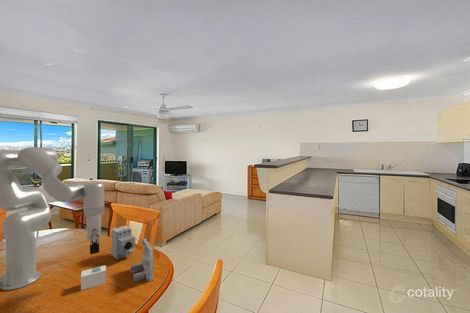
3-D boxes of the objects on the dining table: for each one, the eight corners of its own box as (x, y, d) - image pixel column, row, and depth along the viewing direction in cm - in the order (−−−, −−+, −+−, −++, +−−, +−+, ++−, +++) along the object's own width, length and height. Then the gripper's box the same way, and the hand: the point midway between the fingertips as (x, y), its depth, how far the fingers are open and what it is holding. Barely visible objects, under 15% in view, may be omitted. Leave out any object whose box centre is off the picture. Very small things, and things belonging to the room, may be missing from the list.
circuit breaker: (122, 263, 109) (122, 235, 108) (111, 255, 117) (111, 229, 117) (136, 257, 115) (136, 231, 114) (124, 250, 123) (124, 225, 123)
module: (81, 290, 87) (81, 276, 87) (81, 284, 91) (81, 270, 91) (106, 283, 92) (106, 269, 92) (105, 277, 96) (105, 264, 96)
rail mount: (134, 286, 90) (134, 254, 90) (129, 269, 103) (129, 241, 103) (153, 280, 94) (153, 250, 94) (145, 264, 108) (145, 238, 107)
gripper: (84, 207, 96) (84, 243, 96) (82, 217, 82) (83, 259, 82) (103, 205, 100) (103, 240, 100) (105, 214, 86) (105, 254, 86)
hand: (94, 248), depth 91 cm, fingers open, 9 cm apart
